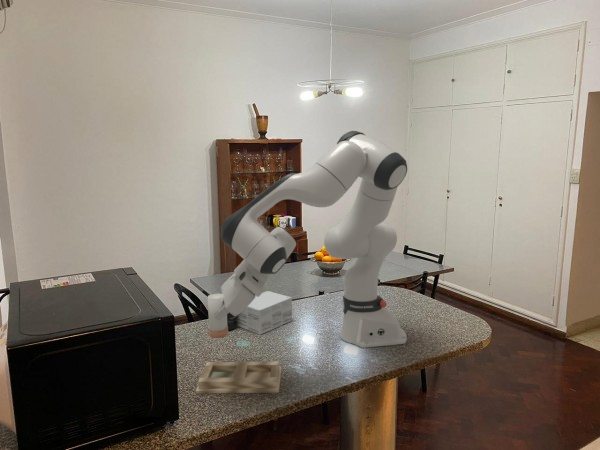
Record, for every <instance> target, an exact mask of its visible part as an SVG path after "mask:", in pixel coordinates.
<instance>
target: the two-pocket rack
mask: <svg viewBox="0 0 600 450" xmlns="http://www.w3.org/2000/svg"><path fill="white" fill-rule="evenodd" d="M281 375H282V365H281V366H280V361H217V362H216V361H212V362H211V361H210V362H209V361H208V362H206V364H205V366H204V369H203V371H202V373H201V375H200V376H199V379H198V381H197V384H198V385H197V387H196V389H195V394H258V393H259V394H262V393H263V394H271V393H272V394H275V393H276V394H278V393H279V392H280V385H281Z"/></svg>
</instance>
